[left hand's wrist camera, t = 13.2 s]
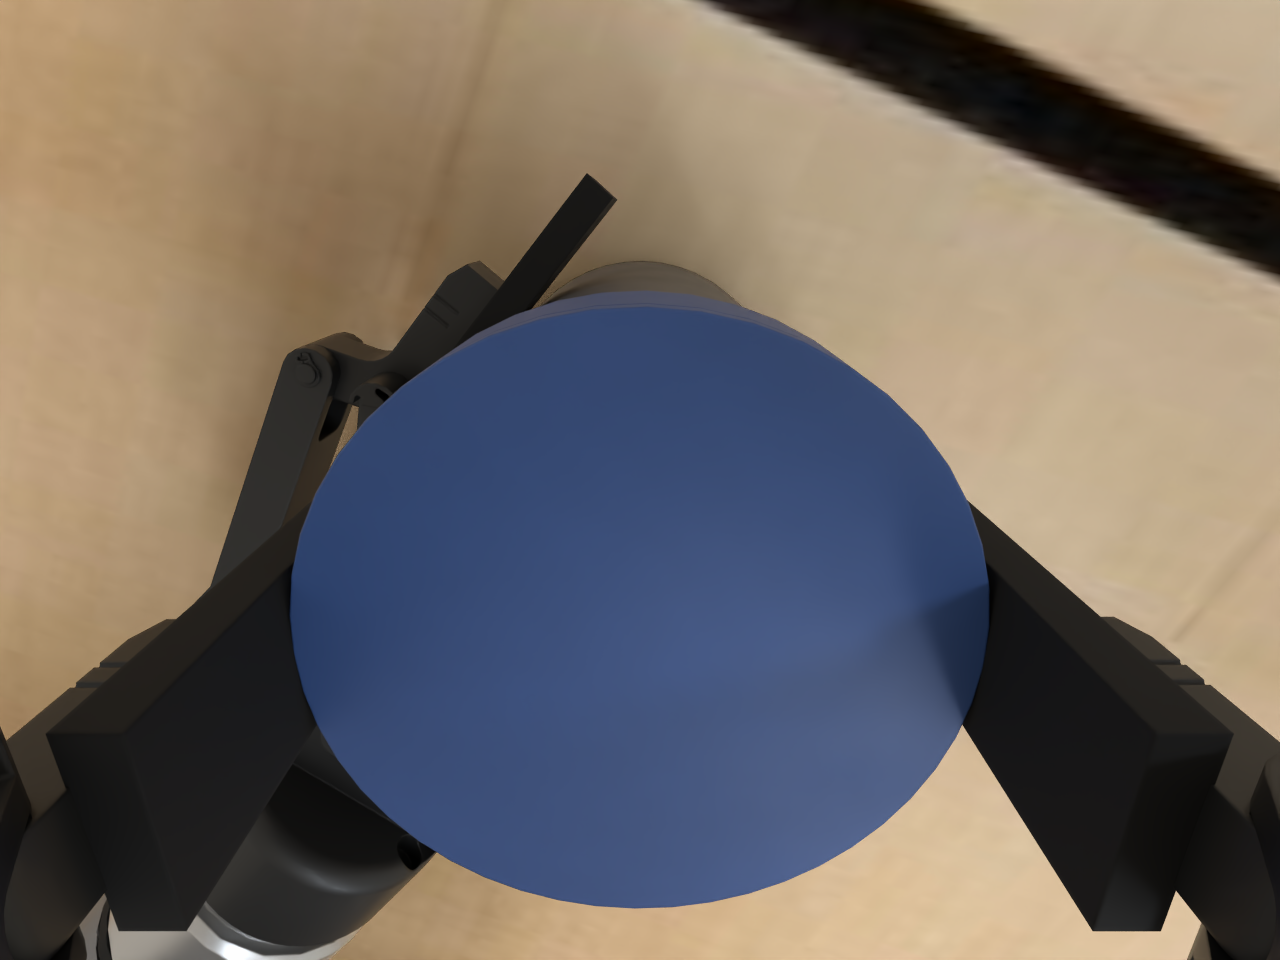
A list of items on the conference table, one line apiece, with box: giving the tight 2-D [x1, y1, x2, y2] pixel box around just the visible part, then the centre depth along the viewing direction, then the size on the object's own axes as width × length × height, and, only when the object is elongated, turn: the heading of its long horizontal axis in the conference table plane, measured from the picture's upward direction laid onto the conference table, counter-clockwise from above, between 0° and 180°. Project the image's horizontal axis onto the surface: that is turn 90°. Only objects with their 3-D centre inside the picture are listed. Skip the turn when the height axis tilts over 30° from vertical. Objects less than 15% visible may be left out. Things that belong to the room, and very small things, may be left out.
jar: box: [539, 261, 742, 307], centre depth 18 cm, size 9×9×15 cm
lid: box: [290, 291, 989, 908], centre depth 11 cm, size 10×10×2 cm
